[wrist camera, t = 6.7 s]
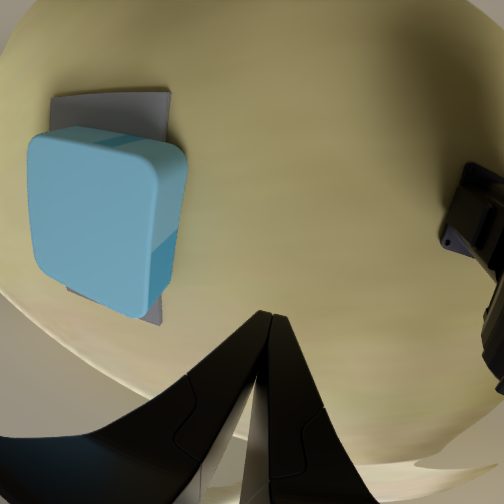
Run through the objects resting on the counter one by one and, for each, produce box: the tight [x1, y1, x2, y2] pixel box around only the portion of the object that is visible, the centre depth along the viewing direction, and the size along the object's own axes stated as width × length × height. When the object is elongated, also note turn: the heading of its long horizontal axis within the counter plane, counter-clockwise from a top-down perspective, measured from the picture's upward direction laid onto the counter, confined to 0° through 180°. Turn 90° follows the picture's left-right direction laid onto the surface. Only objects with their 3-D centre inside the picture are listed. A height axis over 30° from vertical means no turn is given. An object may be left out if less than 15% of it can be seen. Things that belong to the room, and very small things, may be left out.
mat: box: [50, 92, 171, 326], centre depth 22 cm, size 12×20×1 cm, turn 171°
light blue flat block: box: [27, 126, 188, 318], centre depth 19 cm, size 12×4×12 cm
